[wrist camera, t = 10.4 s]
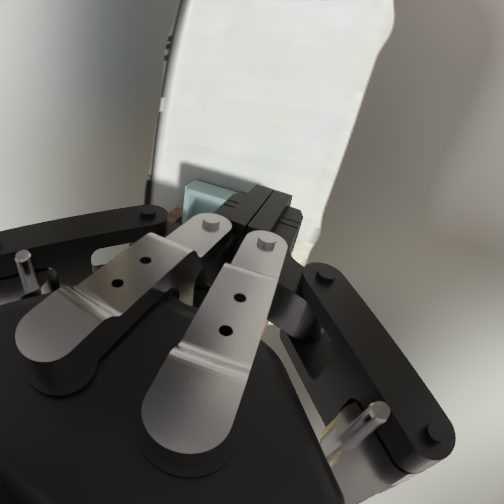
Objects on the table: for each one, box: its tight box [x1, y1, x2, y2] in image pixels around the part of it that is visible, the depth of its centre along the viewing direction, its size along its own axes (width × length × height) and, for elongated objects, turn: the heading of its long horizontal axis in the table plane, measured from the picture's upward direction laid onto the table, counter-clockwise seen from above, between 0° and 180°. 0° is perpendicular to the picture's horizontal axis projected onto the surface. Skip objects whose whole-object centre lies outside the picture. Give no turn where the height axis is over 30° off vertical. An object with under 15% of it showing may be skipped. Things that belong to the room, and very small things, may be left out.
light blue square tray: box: [182, 180, 238, 224], centre depth 47 cm, size 12×14×4 cm
